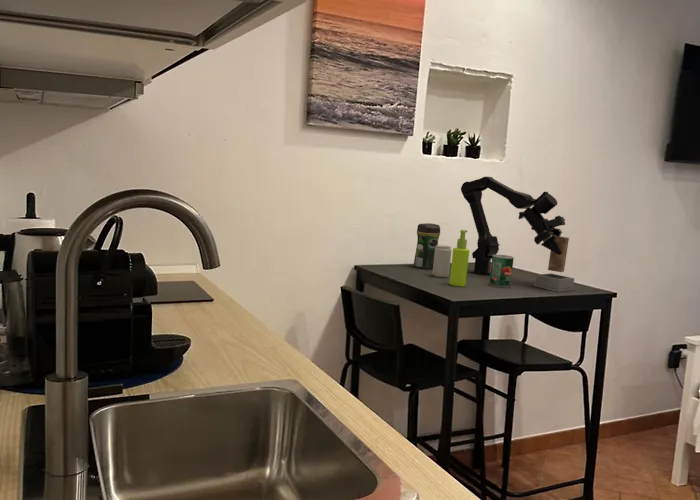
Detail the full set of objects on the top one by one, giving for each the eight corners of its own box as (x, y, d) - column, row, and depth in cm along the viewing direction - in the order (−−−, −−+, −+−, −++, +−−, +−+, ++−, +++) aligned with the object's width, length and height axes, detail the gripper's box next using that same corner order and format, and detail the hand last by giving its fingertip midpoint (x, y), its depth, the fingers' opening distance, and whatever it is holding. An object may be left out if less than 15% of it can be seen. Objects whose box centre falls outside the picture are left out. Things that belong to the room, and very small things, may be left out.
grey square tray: (558, 291, 237) (560, 279, 236) (533, 285, 245) (534, 274, 244) (574, 290, 244) (576, 278, 243) (549, 284, 252) (551, 273, 251)
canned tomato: (509, 288, 236) (513, 258, 234) (488, 285, 238) (491, 256, 236) (510, 284, 243) (514, 256, 242) (489, 282, 245) (493, 253, 244)
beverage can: (449, 278, 245) (453, 247, 244) (433, 277, 245) (436, 246, 244) (447, 275, 252) (450, 245, 250) (431, 274, 252) (434, 244, 250)
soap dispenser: (467, 284, 236) (473, 230, 234) (464, 287, 230) (470, 231, 227) (451, 281, 238) (457, 228, 236) (447, 284, 232) (453, 230, 229)
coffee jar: (427, 265, 273) (432, 222, 271) (439, 269, 267) (444, 224, 264) (410, 266, 268) (414, 222, 265) (422, 269, 261) (426, 224, 259)
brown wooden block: (547, 270, 243) (552, 236, 241) (550, 269, 246) (555, 235, 245) (561, 272, 240) (566, 238, 239) (563, 271, 244) (569, 237, 242)
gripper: (547, 208, 234) (573, 242, 230) (560, 207, 250) (585, 239, 246) (523, 227, 240) (548, 260, 235) (537, 225, 255) (561, 256, 251)
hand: (562, 253), depth 242 cm, fingers closed on brown wooden block, 4 cm apart
